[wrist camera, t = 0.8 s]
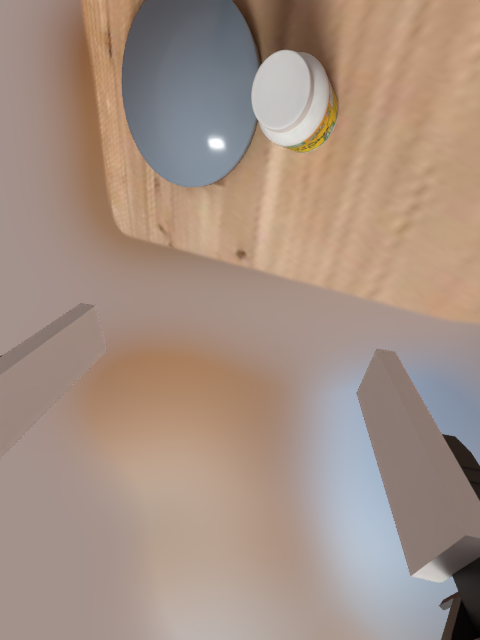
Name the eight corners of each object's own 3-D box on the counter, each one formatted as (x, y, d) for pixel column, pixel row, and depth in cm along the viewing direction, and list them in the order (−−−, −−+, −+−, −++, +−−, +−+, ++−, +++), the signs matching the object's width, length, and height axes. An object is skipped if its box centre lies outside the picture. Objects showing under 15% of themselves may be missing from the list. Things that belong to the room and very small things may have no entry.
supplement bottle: (330, 67, 22) (309, 6, 14) (345, 136, 24) (333, 113, 16) (273, 104, 25) (230, 69, 17) (289, 163, 26) (257, 156, 19)
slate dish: (117, 30, 28) (101, 21, 26) (256, -49, 21) (246, -68, 19) (156, 195, 34) (146, 195, 33) (270, 175, 28) (264, 174, 26)
